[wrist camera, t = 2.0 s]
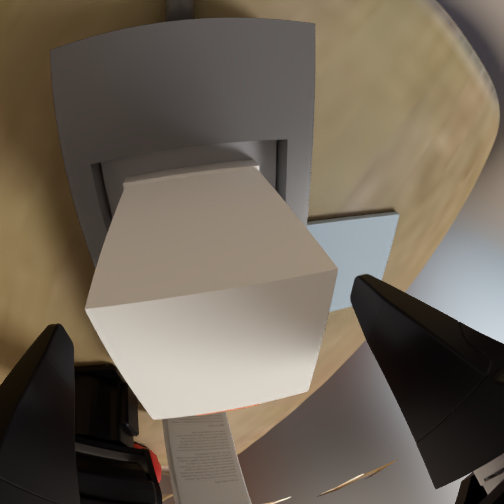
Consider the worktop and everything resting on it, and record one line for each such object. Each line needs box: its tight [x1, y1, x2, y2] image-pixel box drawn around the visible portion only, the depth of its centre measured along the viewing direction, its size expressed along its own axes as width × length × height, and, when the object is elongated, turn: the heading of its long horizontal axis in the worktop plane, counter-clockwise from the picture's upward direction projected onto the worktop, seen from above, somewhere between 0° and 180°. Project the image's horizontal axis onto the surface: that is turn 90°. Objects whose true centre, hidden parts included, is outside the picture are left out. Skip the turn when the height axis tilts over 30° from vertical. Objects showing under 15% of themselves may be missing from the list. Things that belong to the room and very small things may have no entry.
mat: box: [307, 212, 399, 312], centre depth 20 cm, size 8×8×1 cm
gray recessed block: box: [50, 0, 315, 416], centre depth 13 cm, size 9×26×5 cm, turn 1°
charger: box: [85, 160, 338, 420], centre depth 9 cm, size 5×5×7 cm
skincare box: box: [162, 411, 251, 504], centre depth 22 cm, size 6×4×12 cm
